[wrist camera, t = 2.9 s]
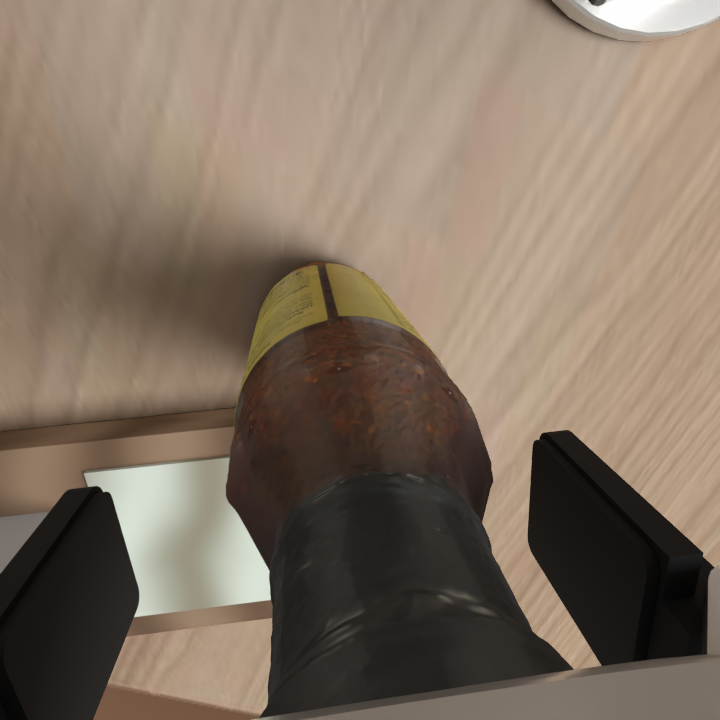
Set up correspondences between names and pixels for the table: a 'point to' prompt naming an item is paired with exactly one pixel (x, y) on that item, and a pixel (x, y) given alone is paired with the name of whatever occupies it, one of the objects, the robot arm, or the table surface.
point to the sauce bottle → (368, 505)
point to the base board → (153, 509)
